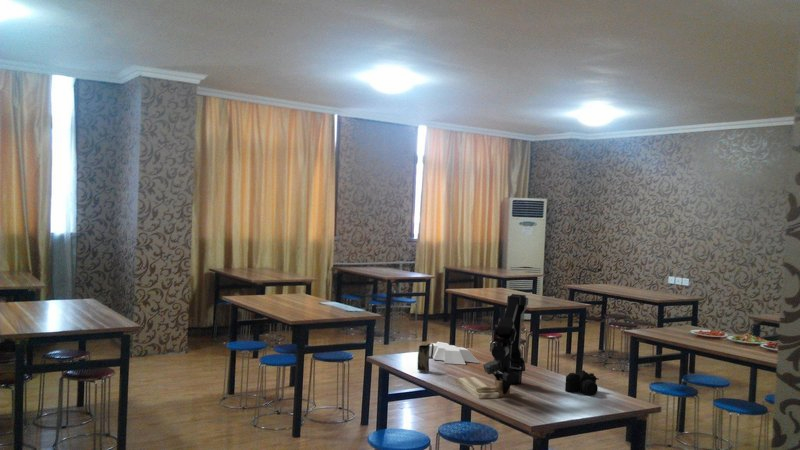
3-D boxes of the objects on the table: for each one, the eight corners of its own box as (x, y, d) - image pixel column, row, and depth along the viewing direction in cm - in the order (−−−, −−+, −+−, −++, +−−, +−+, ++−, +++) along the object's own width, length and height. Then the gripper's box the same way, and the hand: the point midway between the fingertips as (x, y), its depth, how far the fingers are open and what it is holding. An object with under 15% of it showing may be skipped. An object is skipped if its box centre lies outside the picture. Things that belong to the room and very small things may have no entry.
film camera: (574, 397, 265) (575, 376, 264) (562, 390, 274) (563, 370, 274) (606, 396, 269) (607, 375, 268) (593, 389, 278) (594, 369, 278)
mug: (421, 371, 294) (423, 346, 293) (414, 369, 298) (416, 343, 298) (435, 370, 298) (436, 344, 298) (428, 367, 303) (429, 342, 302)
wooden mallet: (505, 393, 265) (505, 379, 264) (509, 396, 261) (510, 382, 261) (474, 395, 260) (475, 380, 260) (478, 398, 256) (479, 383, 256)
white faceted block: (409, 352, 335) (410, 342, 334) (436, 348, 347) (437, 338, 347) (457, 367, 308) (457, 356, 308) (484, 362, 321) (485, 351, 321)
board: (473, 381, 281) (474, 377, 281) (498, 398, 258) (499, 393, 258) (455, 382, 278) (455, 377, 278) (478, 399, 255) (478, 394, 255)
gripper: (476, 350, 268) (474, 386, 268) (496, 361, 250) (494, 400, 251) (500, 349, 271) (498, 385, 272) (521, 360, 254) (519, 398, 254)
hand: (502, 392), depth 262 cm, fingers closed on wooden mallet, 4 cm apart
